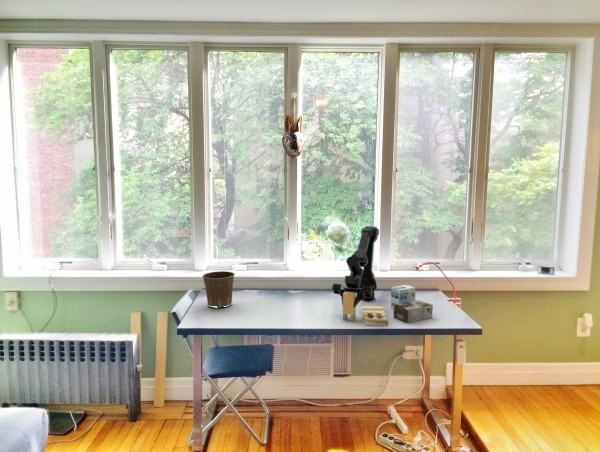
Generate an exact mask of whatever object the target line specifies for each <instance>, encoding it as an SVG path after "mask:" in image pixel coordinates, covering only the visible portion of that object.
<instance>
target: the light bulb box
mask: <svg viewBox="0 0 600 452" xmlns="http://www.w3.org/2000/svg"><path fill="white" fill-rule="evenodd" d="M390 288H391V290H390V291H391V292H390V308H391V309H393V310H394V305H395V304H400V303H405V302H410V301H415V300H416V291H417V290H416V287H415V286H411V285H409V284H404V285H403V284H402V285H397V286H391V287H390Z"/></svg>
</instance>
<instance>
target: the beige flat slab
mask: <svg viewBox="0 0 600 452" xmlns="http://www.w3.org/2000/svg"><path fill="white" fill-rule="evenodd" d="M360 312H361V315H362V316H361V317H362V320H363V322H364V326H367V327H369V326H371V327H372V326H374V327H375V326H378V327H380V326H381V327H388V326H389V320H388V317H387V315H386V312H385V310H384V308H383V306H382V304H361V305H360Z"/></svg>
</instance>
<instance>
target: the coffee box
mask: <svg viewBox="0 0 600 452" xmlns="http://www.w3.org/2000/svg"><path fill="white" fill-rule="evenodd" d="M433 309H434V304H432V303H429V302H426V301H424V300H421V299H415V301H410V302H405V303H400V304H395V305H394V309H393V318H395V319H397V320H399V321H401V322H404V323H405V324H409V323H412V322H413V323H414V322H417V321H421V320H426V319H427V320H428V319H430V318H433Z"/></svg>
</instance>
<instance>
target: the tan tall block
mask: <svg viewBox="0 0 600 452" xmlns="http://www.w3.org/2000/svg"><path fill="white" fill-rule="evenodd" d="M356 296H357V293H354V292H344V293H343V306H342V321H346V320H347V319H348V315H350V322H355V320H357V319H356V316H357V313H356V311H357V306H356V307H355V308H354V302H355V299H356Z"/></svg>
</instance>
